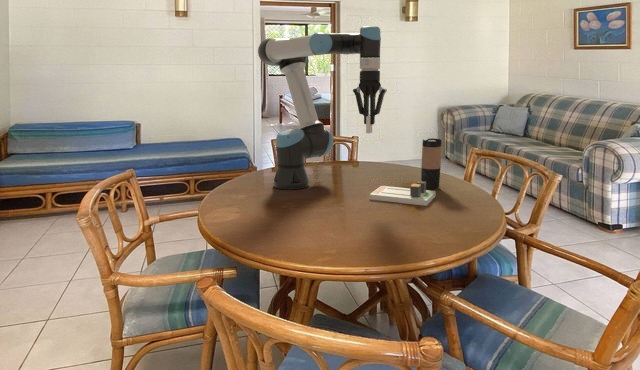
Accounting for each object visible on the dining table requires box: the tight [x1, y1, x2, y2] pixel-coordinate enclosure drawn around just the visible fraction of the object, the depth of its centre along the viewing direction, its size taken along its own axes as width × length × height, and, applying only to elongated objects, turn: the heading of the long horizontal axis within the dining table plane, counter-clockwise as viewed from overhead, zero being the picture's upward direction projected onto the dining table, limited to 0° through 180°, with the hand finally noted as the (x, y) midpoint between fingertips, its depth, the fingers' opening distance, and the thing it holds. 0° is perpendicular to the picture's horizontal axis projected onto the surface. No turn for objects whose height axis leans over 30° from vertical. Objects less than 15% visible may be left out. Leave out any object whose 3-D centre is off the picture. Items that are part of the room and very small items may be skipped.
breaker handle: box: [409, 183, 421, 197], centre depth 181 cm, size 3×4×4 cm
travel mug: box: [420, 137, 442, 191], centre depth 199 cm, size 8×8×20 cm
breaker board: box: [369, 180, 437, 207], centre depth 187 cm, size 22×14×6 cm, turn 64°
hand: (369, 132), depth 187 cm, fingers closed
